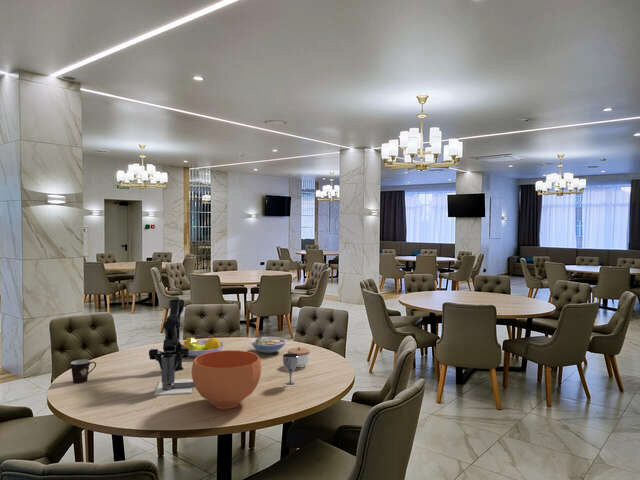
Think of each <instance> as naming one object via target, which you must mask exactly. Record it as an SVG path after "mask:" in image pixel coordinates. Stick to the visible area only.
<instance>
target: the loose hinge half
mask: <svg viewBox="0 0 640 480" xmlns="http://www.w3.org/2000/svg"><path fill="white" fill-rule="evenodd" d="M174 364H175V355H164V356H162V370H161V381H162V383H163V384H166V386H167V384H171V383H174V381H175V380H176V378H175V377H176V375H175V374H176V371H175V369H174Z"/></svg>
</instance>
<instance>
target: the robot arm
mask: <svg viewBox="0 0 640 480" xmlns="http://www.w3.org/2000/svg"><path fill="white" fill-rule="evenodd" d="M185 307H186V301H185V300H184V299H183V298H181V299H180V298H172V299H169V300H168V308H170V309H169V310H170V311H169V315H168V316H167V317H166V319H165V321H164V323H163V325H162V326H163V330H164V331H163V332H164V335H165V337H164V339H163V345H162V349H163V351H161V350H159V349H158V348H151V349H149V351H148V357H149V360H155V361H157V362H158V364H159V368H160V371H162V356H164V355H175V364H174V369H175V372H177V371H180V370H184V367H183V361H182V360H184V359H188V358H190V355H189V349H188V348H182V345H183V344H182V343H181V341H180V340H181V326H182V323H181V318H182V317H181V315H182V314H183V313H184V309H185Z"/></svg>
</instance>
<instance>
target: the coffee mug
mask: <svg viewBox="0 0 640 480" xmlns="http://www.w3.org/2000/svg"><path fill="white" fill-rule="evenodd" d="M93 363H94V367H93V368H92V369H91V370H90V365H91V364H93ZM96 366H97V363H96V362H95V361H90V360H89V359H77V360H73V361H71V362H70V369H71V375H72V383H73V384H83V383H86V382H88V376H89V374H90V373H91V372H92V371H93V370H95V368H96Z"/></svg>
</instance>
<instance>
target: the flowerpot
mask: <svg viewBox="0 0 640 480" xmlns="http://www.w3.org/2000/svg"><path fill="white" fill-rule="evenodd" d="M261 375H262V361H261V357H260V356H259V355H258V354H257V353H254V352H251V351H246V350H238V349H237V350H235V349H234V350H231V349H230V350H229V349H225V350H221V351H214V352H209V353H205V354H202V355H200V356H197V357H195V358H194V359H193V361H192V367H191V379H193V383H194V386H195V387H194V388H195V389H196V391H197V392H198V394H200V395H199V396H200V397H202V398H203V399H205V400H206V401H208V402H210V403H211V404H213V406H214V407H215V408H217V409H220V410H222V409H223V410H228V409H229V410H230V409H233V408H236V407H238V406H239V405H240V403H241V402H242V401H243V400H245V399H246V398H248V397H249V396H250V395H252V393H253V392H254V390H255V389H256V388H257V387H258V384H259V381H260V380H261V379H260V378H261Z"/></svg>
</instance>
